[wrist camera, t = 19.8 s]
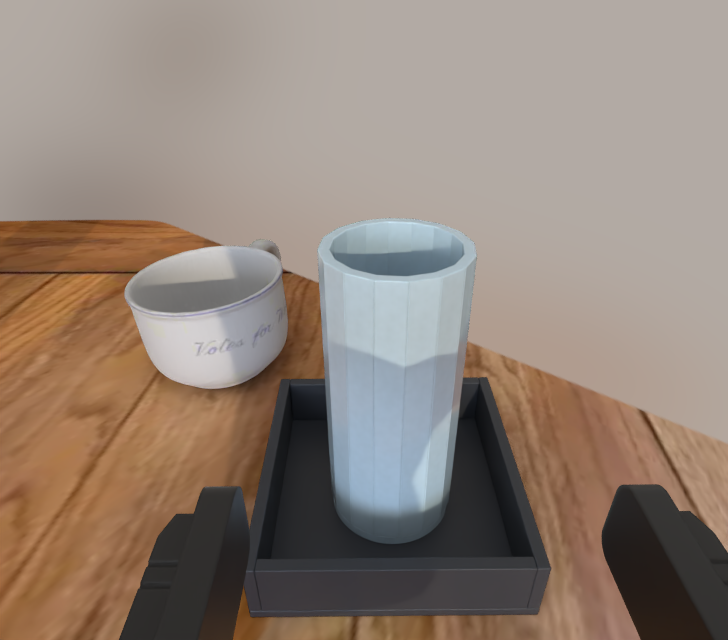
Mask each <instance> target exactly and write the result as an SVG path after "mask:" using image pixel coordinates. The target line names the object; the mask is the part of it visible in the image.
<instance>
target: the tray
mask: <svg viewBox="0 0 728 640" xmlns="http://www.w3.org/2000/svg"><path fill="white" fill-rule="evenodd" d="M249 531H250V551H249V559H248V565H247V570H246V575H245V580H244V589H245V593H246V598H247V602H248V607H249V612H250V616H251V617H295V616H407V615H520V614H538V612H539V608H540V605H541V601H542V598H543V594H544V591H545V588H546V584H547V581H548V578H549V574H550V571H551V567H550V564H549V561H548V558H547V555H546V552H545V549H544V546H543V543H542V540H541V537H540V534H539V531H538V528H537V525H536V522H535V519H534V516H533V513H532V510H531V507H530V504H529V501H528V498H527V495H526V492H525V489H524V486H523V483H522V480H521V477H520V474H519V471H518V468H517V465H516V462H515V459H514V456H513V453H512V450H511V447H510V444H509V441H508V438H507V435H506V432H505V429H504V426H503V423H502V420H501V417H500V414H499V411H498V408H497V405H496V402H495V399H494V396H493V393H492V390H491V387H490V384H489V382H488V379H487V378H486V377H482V378H463V381H462V390H461V399H460V408H459V416H458V425H457V434H456V442H455V451H454V460H453V468H452V477H451V486H450V495H449V501H448V504H447V509H446V512H445V514H444V517H443V518H442V520H441V522H440V523H439V524H438V525H437V526H436V528H434V529H433V530H432V531H431V532H430V533H428V534H427V535H425V536H424V537H421V538H419V539H417V540H414V541H411V542H407V543H402V544H383V543H377V542H374V541H370V540H367V539H365V538H363V537H361V536H359V535H357V534H356V533H354V532H353V531H351V530H350V529H349V528H348V527H347V526H346V525H345V524H344V523H343V522H342V520H341V519H340V517H339V516H338V514H337V512H336V509H335V507H334V502H333V494H332V489H331V473H330V456H329V439H328V422H327V405H326V388H325V379H291V380H290V379H282V380H281V383H280V388H279V392H278V397H277V402H276V407H275V411H274V416H273V421H272V425H271V430H270V435H269V440H268V444H267V449H266V454H265V458H264V463H263V468H262V473H261V477H260V482H259V487H258V491H257V496H256V501H255V506H254V510H253V515H252V520H251V525H250V529H249Z"/></svg>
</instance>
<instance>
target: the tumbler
mask: <svg viewBox="0 0 728 640" xmlns="http://www.w3.org/2000/svg"><path fill="white" fill-rule="evenodd" d="M317 252H318V270H319V287H320V304H321V321H322V338H323V354H324V371H325V388H326V405H327V422H328V439H329V456H330V473H331V489H332V494H333V502H334V507H335V509H336V512H337V514H338V516H339V517H340V519H341V520H342V522H343V523H344V524H345V525H346V526H347V527H348V528H349V529H350V530H351V531H353V532H354V533H356V534H357V535H359V536H361V537H363V538H365V539H367V540H370V541H374V542H377V543H383V544H402V543H407V542H411V541H414V540H417V539H419V538H421V537H424V536H425V535H427V534H428V533H430V532H431V531H432V530H433V529H434V528H436V526H437V525H438V524H439V523H440V522H441V520H442V518H443V517H444V514H445V512H446V509H447V504H448V501H449V495H450V486H451V477H452V468H453V460H454V451H455V442H456V434H457V425H458V416H459V408H460V399H461V390H462V381H463V373H464V364H465V355H466V347H467V338H468V329H469V321H470V312H471V303H472V294H473V286H474V277H475V268H476V260H477V253H476V248H475V243H474V242H473V241H472V240H471V239H469V238H468V237H467V236H466V235H464V234H463V233H462V232H460V231H458V230H455V229H453V228H450V227H447V226H445V225H442V224H439V223H434V222H429V221H423V220H417V219H400V218H399V219H398V218H385V219H374V220H367V221H366V220H365V221H359V222H356V223H353V224H349V225H346V226H342V227H339V228H337V229H335V230H334V231H333V232H331V233H329V234H328V235H326V236H325V237H323V238H322V241H321V243H320V245H319V247H318V250H317Z"/></svg>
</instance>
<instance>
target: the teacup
mask: <svg viewBox="0 0 728 640" xmlns="http://www.w3.org/2000/svg"><path fill="white" fill-rule="evenodd" d="M282 273H283V269H282V265H281V256H280V252H279V249H278V247H277V246H276V244H275V243H273V242H272V241H270V240H263V239H259V240H256V241H254V242H253V243H252V244H251V245H250V246H249V247H246V246H217V247H206V248H200V249H197V250H191V251H187V252H183V253H180V254H176V255H173V256H170V257H168V258H165V259H162V260H160V261H158V262H155V263H153V264H151V265H149V266H148V267H146V268H144V269H143V270H141V271H140V272H139V273H137V274H136V275H135V276H134V277H133V278H132V279H131V280H130V281H129V282H128V284H127V286H126V288H125V298H126V301H127V303H128V304H129V306H130V307H131V309H132V312H133V315H134V318H135V321H136V324H137V327H138V330H139V332H140V335H141V338H142V341H143V343H144V346H145V348H146V350H147V353H148V355H149V357H150V359H151V361H152V362H153V364H154V365H155V367H156V368H157V369H158V370H159V371H160V372H161V373H162V374H164V375H165V376H166V377H168V378H170V379H171V380H173V381H176V382H179V383H182V384H185V385H190V386H195V387H198V388H206V389H219V388H227V387H231V386H235V385H238V384H241V383H243V382H245V381H248V380H249V379H251V378H253V377H255V376H256V375H258V374H259V373H260V372H261V371H263V370H264V369H265V367H267V366H268V365H269V364H270V363H271V362H272V361H273V360H275V358H276V357H277V356H278V355H279V353H280V352H281V350H282V349H283V347H284V344H285V342H286V338H287V332H288V317H287V307H286V300H285V293H284V287H283V281H282Z"/></svg>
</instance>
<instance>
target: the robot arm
mask: <svg viewBox="0 0 728 640" xmlns="http://www.w3.org/2000/svg"><path fill="white" fill-rule="evenodd" d="M602 547H603V552H604V556H605V559H606V561H607V564H608V566H609V568H610V570H611V573H612V575H613V577H614V580H615V582H616V584H617V586H618V589H619V591H620V593H621V595H622V598H623V600H624V602H625V605H626V607H627V609H628V611H629V614H630V616H631V618H632V621H633V623H634V625H635V627H636V630H637V632H638V634H639V637H640V639H641V640H728V553H727V551H726V550H725V548H724V547H723V545H722V544H721V542H720V541H719V539H718V538H717V536H716V535H715V533H714V532H713V531H712V530H711V529H709V528H708V527H707V526H706V525H705V524H704V523H703V522H701V521H700V520H699V519H698V518H697V517H696V516H695V515H694V514H692V513H691V512H690V511H679V510H678V508H677V507H676V505H675V504H674V502H673V500H672V499H671V497H670V496H669V494H668V493H667V491H666V490H665V489H664V488H663V487H662V486H660V485H656V484H655V485H621V486H619V488H618V489H617V491H616V494H615V497H614V500H613V502H612V505H611V508H610V510H609V513H608V516H607V519H606V521H605V524H604V527H603V530H602ZM249 551H250V531H249V526H248V520H247V515H246V510H245V504H244V499H243V494H242V489H241V487H239V486H231V487H204V488H203V489H202V491H201V493H200V496H199V499H198V502H197V505H196V508H195V512H194V514H176V515H175V516H174V517H173V519H172V520H171V521H170V522H169V523H168V525H167V526H166V527H165V528H164V529H163V531H162V532H161V533H160V534H159V536H158V537H157V540H156V543H155V545H154V548H153V551H152V553H151V556H150V559H149V561H148V562H149V564H148V567H146V569H145V572H144V575H143V577H142V580H141V583H140V584H141V585H140V588H139V589H138V591H137V593H136V596H135V599H134V601H133V604H132V607H131V609H130V612H129V615H128V617H127V620H126V622H125V625H124V628H123V630H122V633H121V636H120V638H119V640H233V635H234V630H235V625H236V620H237V615H238V610H239V605H240V600H241V595H242V590H243V585H244V580H245V575H246V570H247V565H248V559H249Z"/></svg>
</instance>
